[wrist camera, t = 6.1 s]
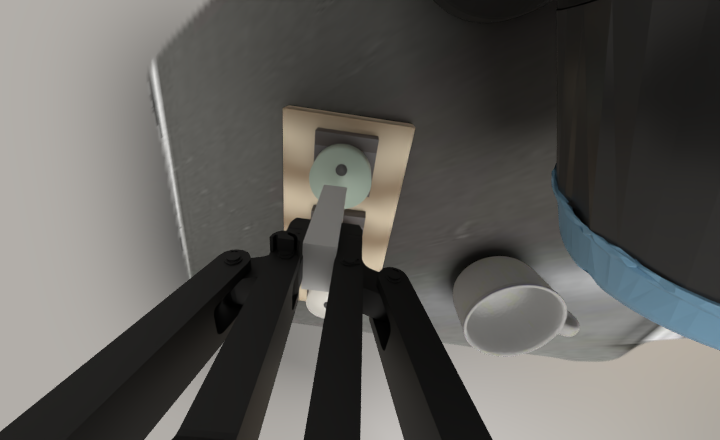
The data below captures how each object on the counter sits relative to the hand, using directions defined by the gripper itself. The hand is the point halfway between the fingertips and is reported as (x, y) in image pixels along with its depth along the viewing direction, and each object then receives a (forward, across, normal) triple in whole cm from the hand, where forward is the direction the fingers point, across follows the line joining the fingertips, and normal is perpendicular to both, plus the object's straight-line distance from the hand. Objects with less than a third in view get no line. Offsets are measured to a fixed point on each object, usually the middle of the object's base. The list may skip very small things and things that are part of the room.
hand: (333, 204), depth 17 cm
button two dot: (+8, 0, 0) cm, 8 cm away
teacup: (+12, +22, -14) cm, 29 cm away
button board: (+11, 0, -8) cm, 14 cm away
